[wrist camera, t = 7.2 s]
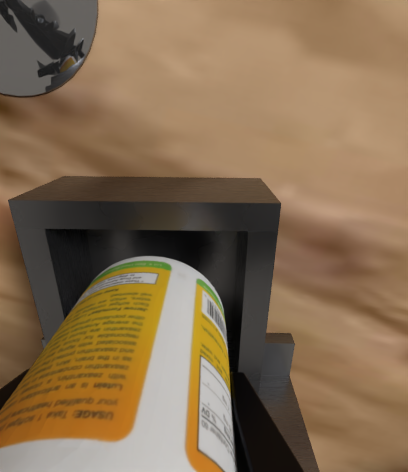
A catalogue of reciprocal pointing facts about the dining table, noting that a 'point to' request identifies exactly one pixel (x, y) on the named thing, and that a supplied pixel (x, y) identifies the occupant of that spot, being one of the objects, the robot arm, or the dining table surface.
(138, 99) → the dining table surface
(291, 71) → the dining table surface
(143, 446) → the supplement bottle
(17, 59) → the wine glass
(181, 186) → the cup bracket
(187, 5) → the dining table surface
